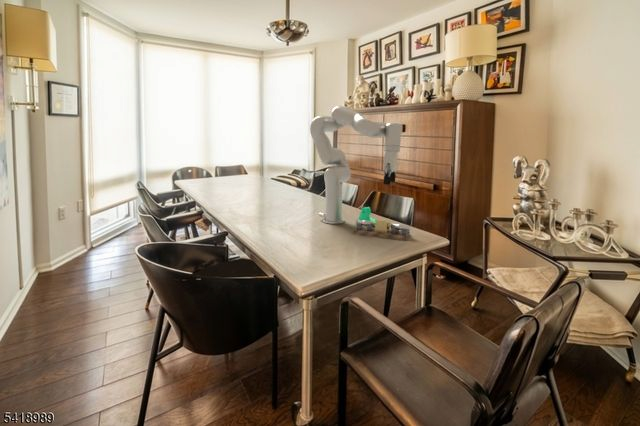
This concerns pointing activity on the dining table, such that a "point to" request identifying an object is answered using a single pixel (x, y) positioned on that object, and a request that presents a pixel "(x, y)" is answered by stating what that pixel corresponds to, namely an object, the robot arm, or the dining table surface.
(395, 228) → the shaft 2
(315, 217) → the dining table surface
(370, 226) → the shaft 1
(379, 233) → the shaft bed
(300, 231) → the dining table surface
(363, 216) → the camera mount
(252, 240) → the dining table surface
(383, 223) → the gold square block
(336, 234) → the dining table surface
